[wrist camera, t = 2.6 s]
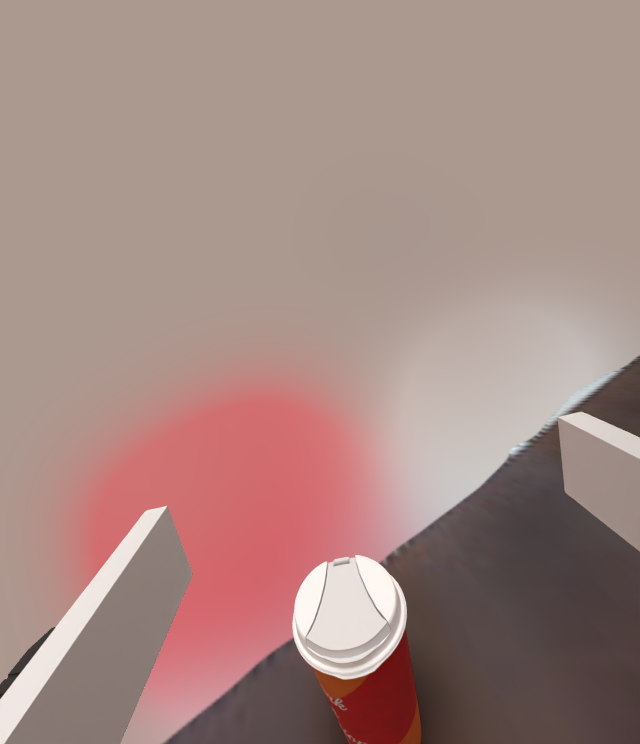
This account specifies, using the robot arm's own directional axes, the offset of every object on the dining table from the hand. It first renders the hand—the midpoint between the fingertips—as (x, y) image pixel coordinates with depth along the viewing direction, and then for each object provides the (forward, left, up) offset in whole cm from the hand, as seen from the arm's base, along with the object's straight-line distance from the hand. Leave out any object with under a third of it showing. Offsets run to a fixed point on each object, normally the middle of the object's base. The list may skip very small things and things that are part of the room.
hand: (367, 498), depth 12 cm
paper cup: (+2, -8, -27) cm, 29 cm away
